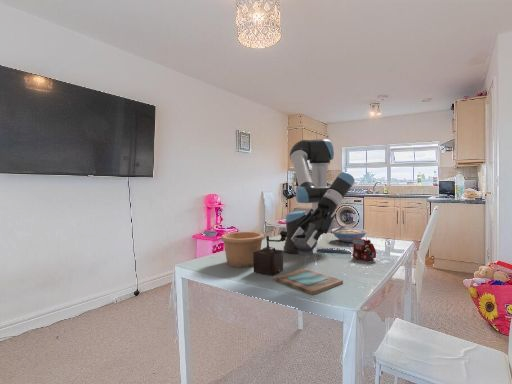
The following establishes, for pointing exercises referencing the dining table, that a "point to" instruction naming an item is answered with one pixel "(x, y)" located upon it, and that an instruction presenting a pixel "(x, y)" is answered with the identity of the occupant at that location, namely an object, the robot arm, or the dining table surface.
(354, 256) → the toy fire truck
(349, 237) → the ramen bowl
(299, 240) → the mortar and pestle
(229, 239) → the pottery
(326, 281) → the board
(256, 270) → the manual coffee grinder
